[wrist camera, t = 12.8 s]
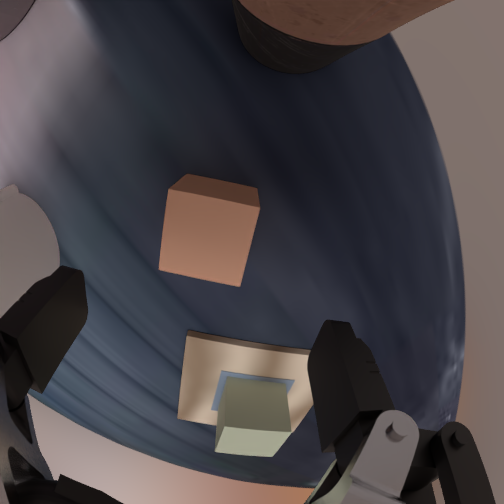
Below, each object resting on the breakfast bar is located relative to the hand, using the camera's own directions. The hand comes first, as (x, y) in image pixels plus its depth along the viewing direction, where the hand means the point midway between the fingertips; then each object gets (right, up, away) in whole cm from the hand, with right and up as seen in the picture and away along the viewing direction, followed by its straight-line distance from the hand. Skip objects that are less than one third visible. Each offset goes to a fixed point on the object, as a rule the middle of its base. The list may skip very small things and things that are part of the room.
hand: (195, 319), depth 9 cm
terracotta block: (-1, +5, +12) cm, 13 cm away
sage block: (+2, -13, +19) cm, 23 cm away
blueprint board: (+2, -13, +20) cm, 24 cm away
